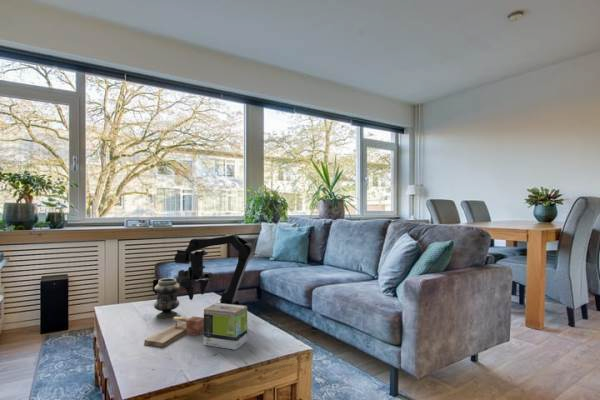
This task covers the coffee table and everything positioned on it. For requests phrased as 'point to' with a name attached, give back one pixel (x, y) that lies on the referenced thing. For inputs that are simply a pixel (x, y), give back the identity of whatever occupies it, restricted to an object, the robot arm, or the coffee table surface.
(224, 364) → the coffee table surface
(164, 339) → the board
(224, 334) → the tea box
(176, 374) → the coffee table surface
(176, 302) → the apothecary jar
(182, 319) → the terracotta strapped cube
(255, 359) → the coffee table surface
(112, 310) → the coffee table surface
